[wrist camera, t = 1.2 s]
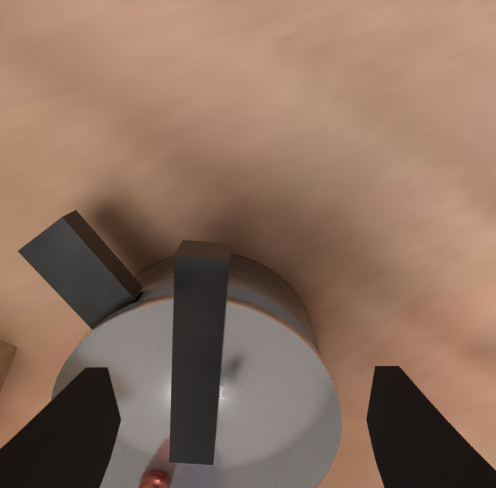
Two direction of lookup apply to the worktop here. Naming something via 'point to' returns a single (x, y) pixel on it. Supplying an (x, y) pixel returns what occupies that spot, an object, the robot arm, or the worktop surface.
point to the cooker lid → (211, 387)
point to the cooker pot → (141, 277)
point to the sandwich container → (5, 359)
